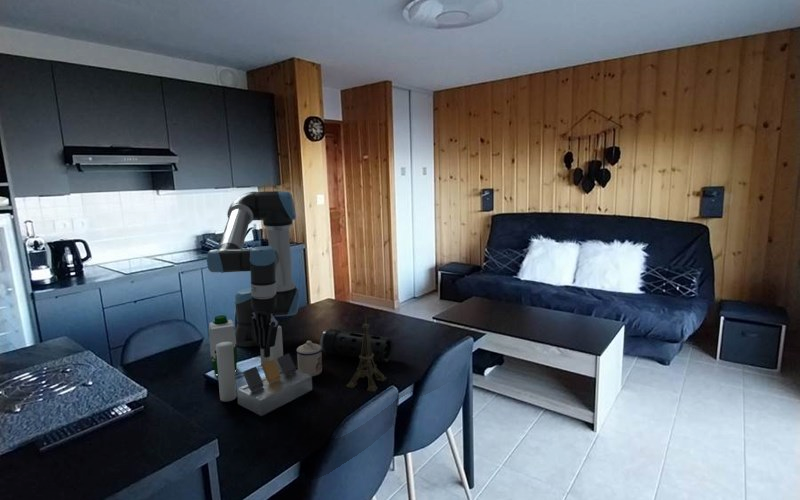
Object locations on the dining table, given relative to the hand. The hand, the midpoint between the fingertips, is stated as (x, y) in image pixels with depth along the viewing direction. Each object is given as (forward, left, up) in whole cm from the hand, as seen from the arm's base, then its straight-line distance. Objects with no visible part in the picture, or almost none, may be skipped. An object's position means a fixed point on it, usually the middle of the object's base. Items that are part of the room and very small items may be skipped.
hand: (265, 365), depth 141 cm
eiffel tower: (+21, +25, -10) cm, 35 cm away
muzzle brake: (+4, +38, -10) cm, 40 cm away
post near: (-8, -9, -10) cm, 15 cm away
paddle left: (+4, -6, -5) cm, 9 cm away
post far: (-8, +10, -10) cm, 16 cm away
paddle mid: (+4, 0, -5) cm, 6 cm away
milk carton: (-27, +1, -10) cm, 28 cm away
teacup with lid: (-2, +20, -10) cm, 23 cm away
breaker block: (+4, 0, -10) cm, 11 cm away
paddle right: (+4, +7, -5) cm, 9 cm away
